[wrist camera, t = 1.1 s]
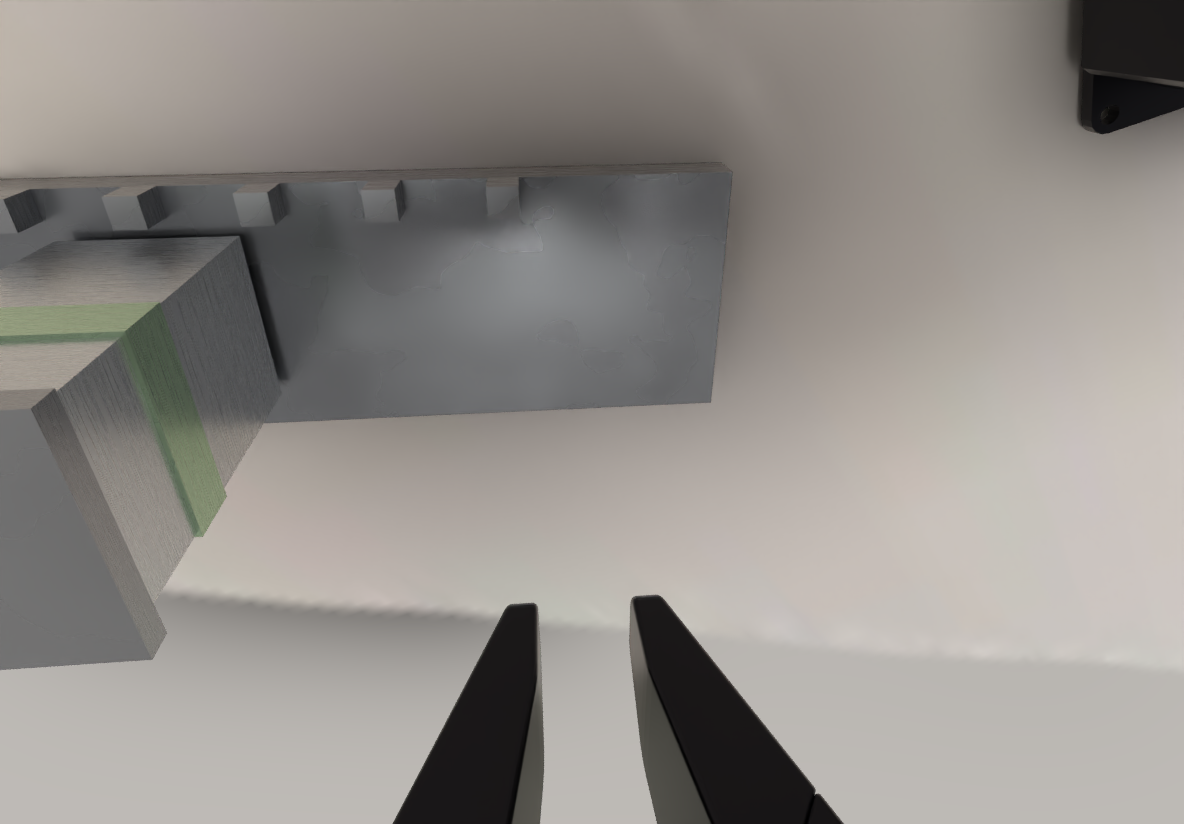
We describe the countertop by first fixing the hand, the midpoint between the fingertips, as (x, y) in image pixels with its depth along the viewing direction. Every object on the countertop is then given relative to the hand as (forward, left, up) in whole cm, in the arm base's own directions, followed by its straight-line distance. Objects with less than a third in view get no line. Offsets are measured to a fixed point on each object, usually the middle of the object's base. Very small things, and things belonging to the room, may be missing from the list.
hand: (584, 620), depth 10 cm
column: (+10, -3, -11) cm, 15 cm away
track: (+7, -2, -13) cm, 15 cm away
